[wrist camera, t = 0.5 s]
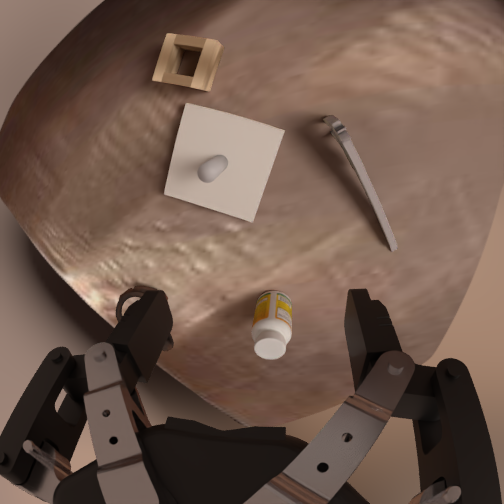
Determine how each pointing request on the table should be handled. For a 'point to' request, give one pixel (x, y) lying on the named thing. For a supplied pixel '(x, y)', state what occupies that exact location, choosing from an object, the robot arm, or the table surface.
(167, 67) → the hollow block
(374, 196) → the caliper
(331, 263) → the table surface
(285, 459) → the robot arm
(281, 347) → the supplement bottle
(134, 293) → the brown curved piece
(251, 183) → the peg base plate
